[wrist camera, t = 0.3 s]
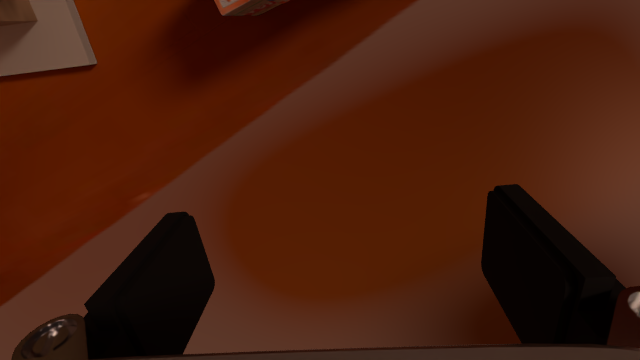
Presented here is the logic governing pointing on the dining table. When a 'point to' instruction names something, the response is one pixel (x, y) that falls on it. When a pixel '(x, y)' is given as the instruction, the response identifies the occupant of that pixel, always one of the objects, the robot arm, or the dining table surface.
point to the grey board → (45, 40)
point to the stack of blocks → (246, 6)
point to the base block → (16, 12)
